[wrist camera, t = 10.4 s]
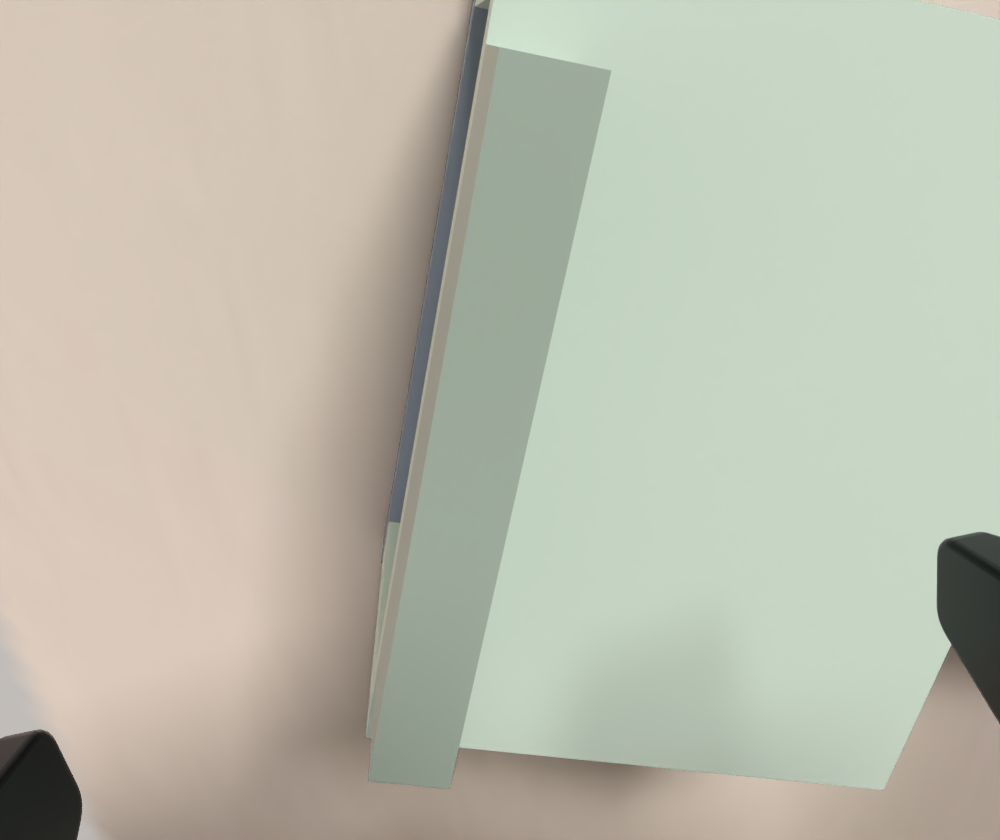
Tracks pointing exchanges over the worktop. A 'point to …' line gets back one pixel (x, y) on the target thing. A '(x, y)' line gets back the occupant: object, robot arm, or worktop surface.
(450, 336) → the hood
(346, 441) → the worktop surface
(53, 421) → the worktop surface
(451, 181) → the grey base plate
